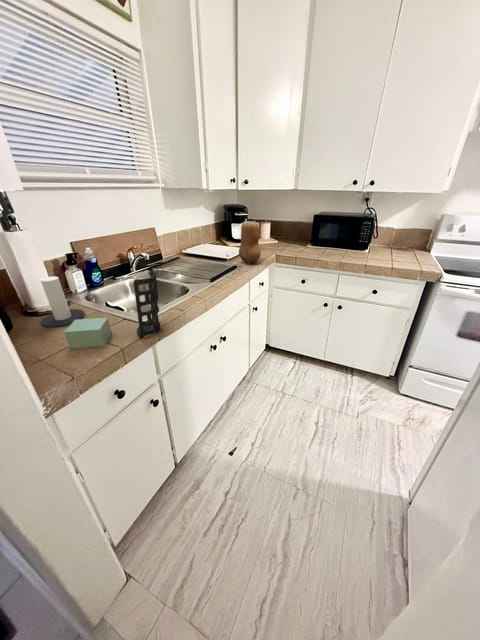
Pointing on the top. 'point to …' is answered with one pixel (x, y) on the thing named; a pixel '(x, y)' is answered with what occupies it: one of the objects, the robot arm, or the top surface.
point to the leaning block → (88, 333)
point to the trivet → (52, 322)
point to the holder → (153, 292)
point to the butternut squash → (250, 242)
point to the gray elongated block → (56, 297)
